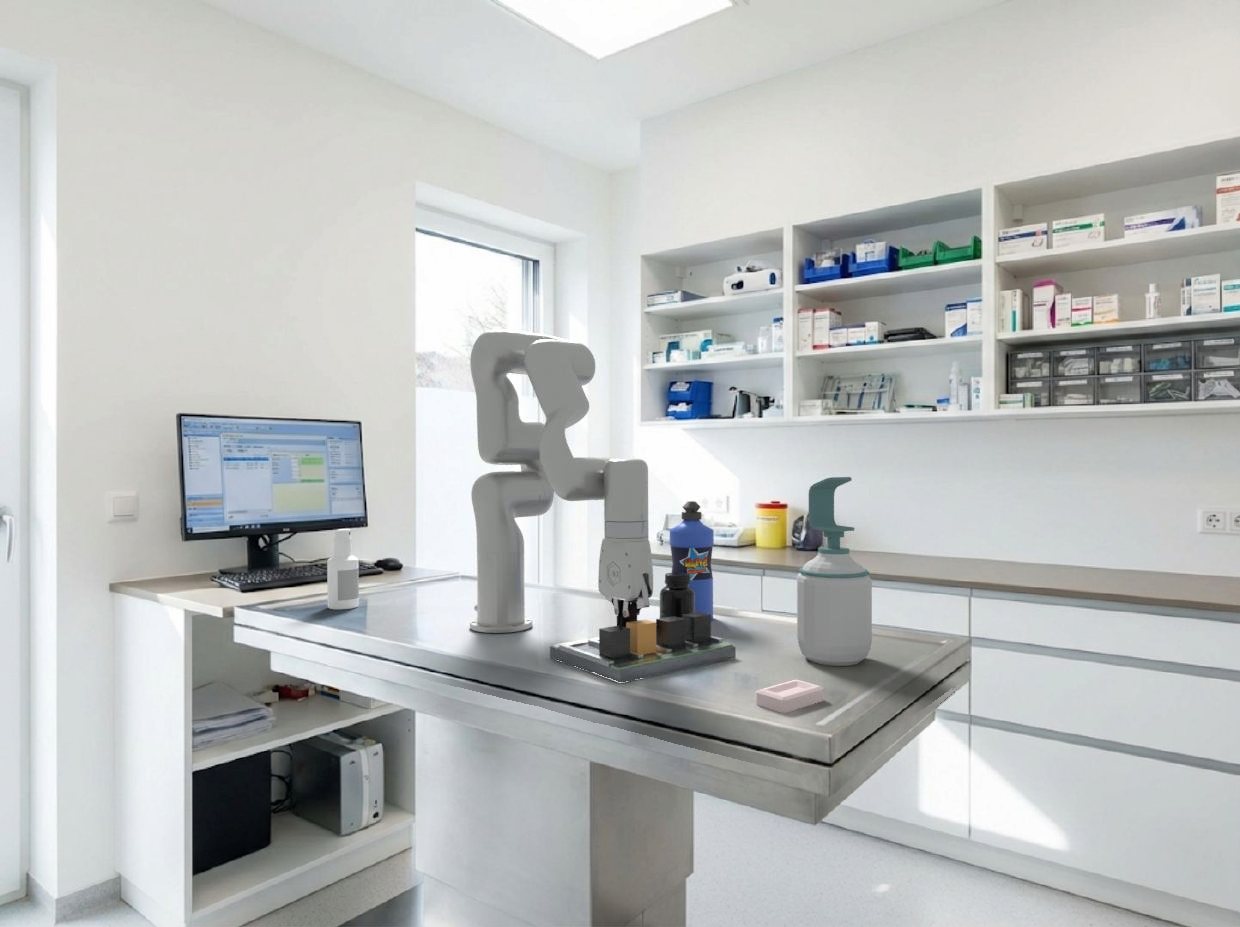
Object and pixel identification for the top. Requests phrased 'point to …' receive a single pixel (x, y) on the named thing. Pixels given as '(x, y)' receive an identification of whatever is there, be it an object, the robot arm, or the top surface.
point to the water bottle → (694, 555)
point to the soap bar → (789, 696)
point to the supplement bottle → (677, 596)
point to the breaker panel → (675, 651)
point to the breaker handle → (642, 636)
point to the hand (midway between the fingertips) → (627, 638)
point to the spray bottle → (343, 573)
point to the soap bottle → (833, 591)
